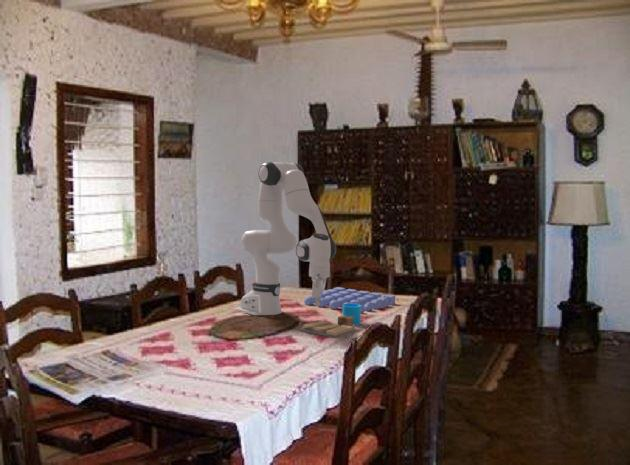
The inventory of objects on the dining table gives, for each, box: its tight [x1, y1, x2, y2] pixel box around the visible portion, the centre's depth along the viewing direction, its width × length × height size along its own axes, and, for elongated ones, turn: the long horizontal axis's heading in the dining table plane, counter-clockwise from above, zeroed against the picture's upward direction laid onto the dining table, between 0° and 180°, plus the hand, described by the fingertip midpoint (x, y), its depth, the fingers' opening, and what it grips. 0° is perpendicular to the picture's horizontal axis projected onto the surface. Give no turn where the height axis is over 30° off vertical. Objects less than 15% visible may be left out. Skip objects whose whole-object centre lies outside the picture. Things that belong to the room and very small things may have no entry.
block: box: [337, 314, 354, 328], centre depth 302 cm, size 5×5×5 cm
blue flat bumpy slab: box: [303, 286, 396, 314], centre depth 354 cm, size 35×34×5 cm
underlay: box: [299, 325, 354, 339], centre depth 294 cm, size 18×14×2 cm
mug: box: [342, 303, 362, 326], centre depth 314 cm, size 12×8×8 cm
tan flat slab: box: [302, 319, 340, 333], centre depth 296 cm, size 11×12×1 cm
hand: (318, 304), depth 297 cm, fingers closed
